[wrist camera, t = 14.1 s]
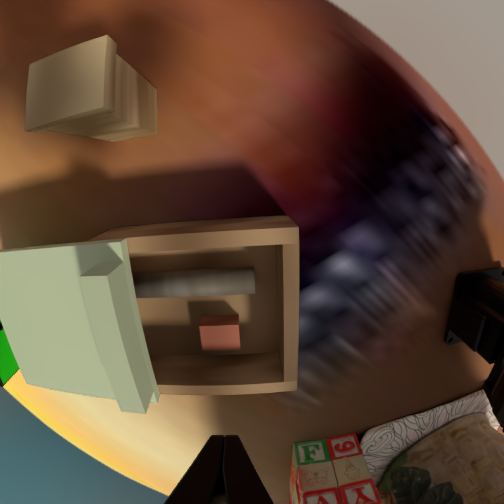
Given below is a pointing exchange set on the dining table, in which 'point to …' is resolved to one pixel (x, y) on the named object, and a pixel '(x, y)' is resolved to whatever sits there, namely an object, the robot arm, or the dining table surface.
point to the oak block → (90, 94)
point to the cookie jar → (439, 455)
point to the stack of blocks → (331, 473)
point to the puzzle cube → (6, 359)
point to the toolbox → (218, 302)
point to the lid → (77, 321)
